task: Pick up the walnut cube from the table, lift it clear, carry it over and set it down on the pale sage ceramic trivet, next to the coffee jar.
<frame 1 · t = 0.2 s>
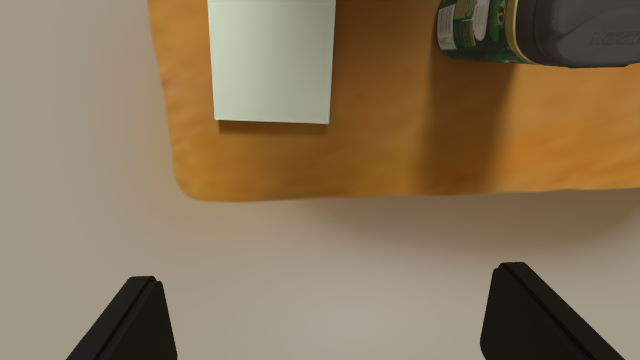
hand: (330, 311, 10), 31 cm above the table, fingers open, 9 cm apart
coffee jar: (479, 19, 36), on the table
trivet: (273, 61, 36), on the table
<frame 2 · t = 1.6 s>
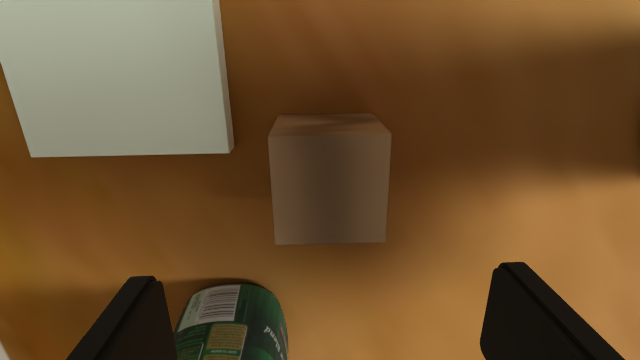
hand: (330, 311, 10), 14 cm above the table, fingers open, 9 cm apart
coffee jar: (241, 324, 28), on the table
walnut cube: (325, 158, 24), on the table
trivet: (122, 50, 21), on the table
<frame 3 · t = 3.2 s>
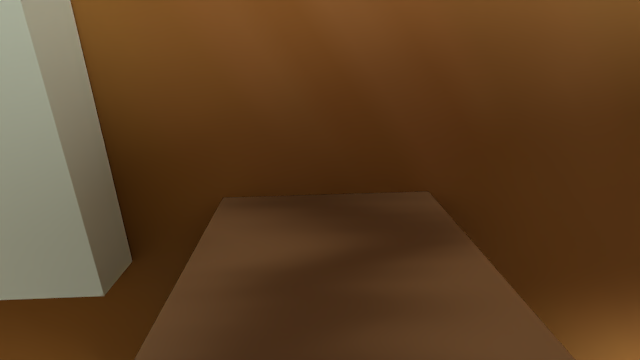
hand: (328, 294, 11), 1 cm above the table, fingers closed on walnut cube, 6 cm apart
walnut cube: (327, 280, 11), on the table, touching gripper
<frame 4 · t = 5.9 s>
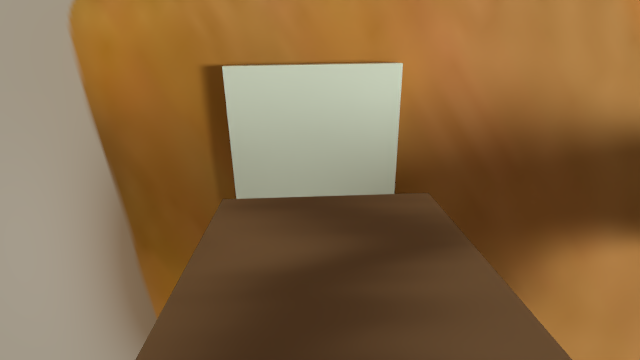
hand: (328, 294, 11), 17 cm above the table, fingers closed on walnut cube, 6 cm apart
walnut cube: (327, 281, 11), point 17 cm above the table, touching gripper
trivet: (314, 146, 27), on the table
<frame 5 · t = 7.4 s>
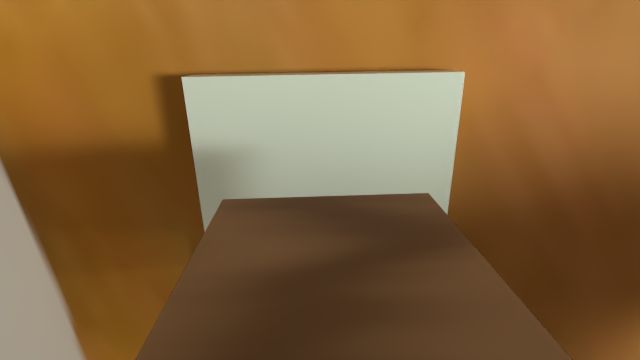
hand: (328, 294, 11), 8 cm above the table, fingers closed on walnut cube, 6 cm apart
walnut cube: (327, 281, 11), point 8 cm above the table, touching gripper
trivet: (324, 191, 18), on the table
when the fingers open (4 cm above the table, at t = 8.8 s): walnut cube drops 2 cm, resting on trivet.
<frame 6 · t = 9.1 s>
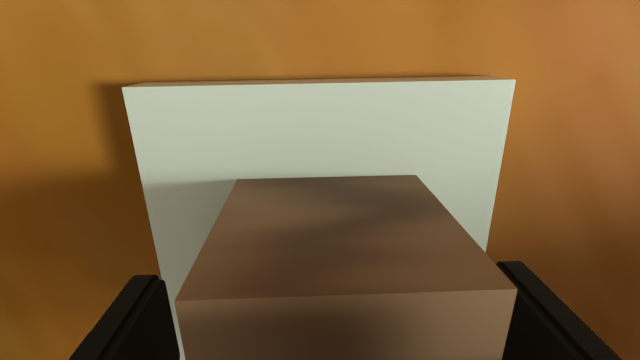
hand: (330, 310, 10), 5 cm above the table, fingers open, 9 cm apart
walnut cube: (327, 254, 13), point 2 cm above the table, touching trivet
trivet: (322, 231, 14), on the table
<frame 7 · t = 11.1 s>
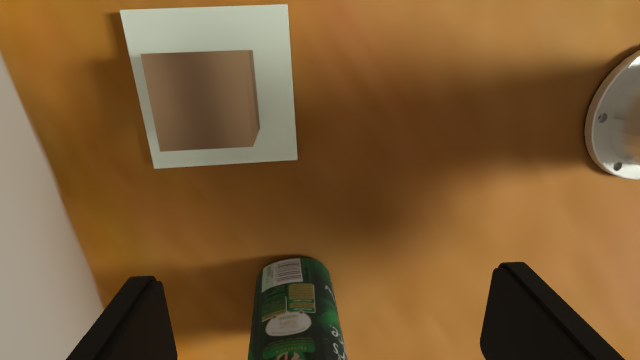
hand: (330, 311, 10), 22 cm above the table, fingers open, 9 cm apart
coffee jar: (296, 291, 37), on the table
walnut cube: (218, 92, 27), point 2 cm above the table, touching trivet
trivet: (220, 89, 29), on the table
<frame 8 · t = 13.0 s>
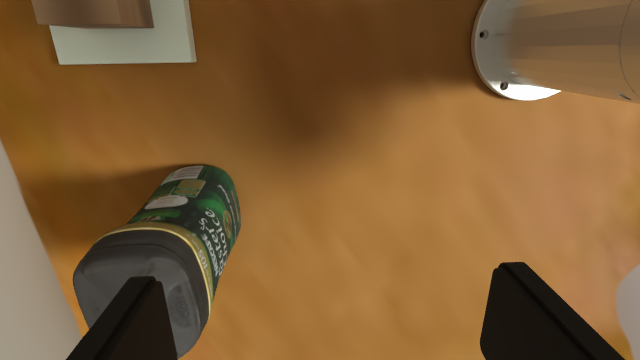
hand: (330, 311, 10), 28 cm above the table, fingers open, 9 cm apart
coffee jar: (206, 202, 39), on the table
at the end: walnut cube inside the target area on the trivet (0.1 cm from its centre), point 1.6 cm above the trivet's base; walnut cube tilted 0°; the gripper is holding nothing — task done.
